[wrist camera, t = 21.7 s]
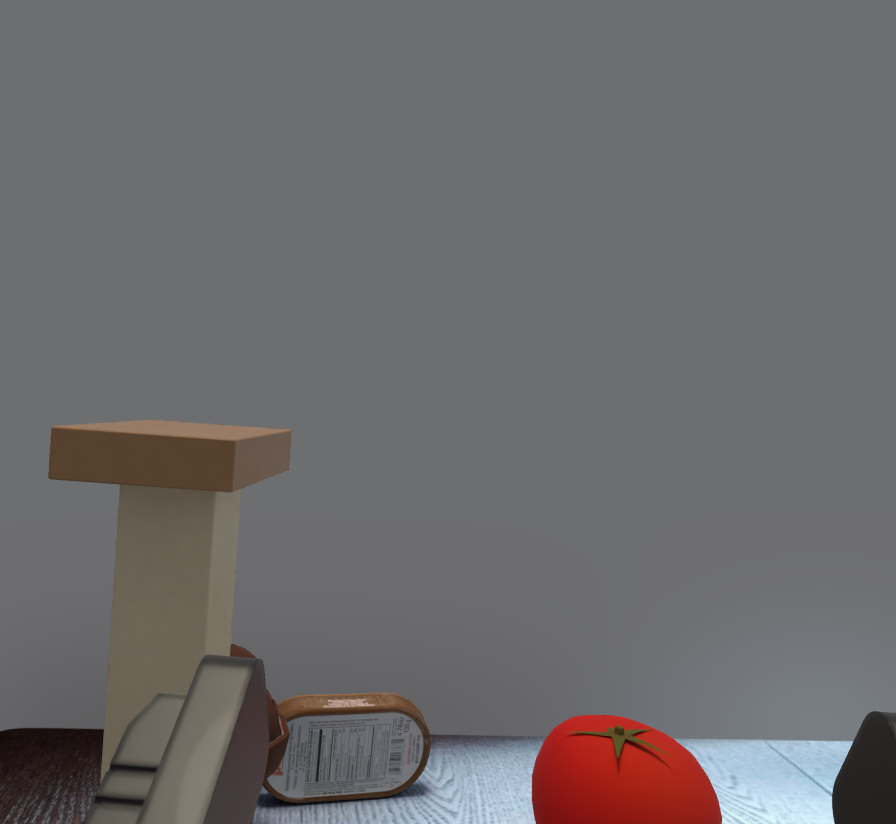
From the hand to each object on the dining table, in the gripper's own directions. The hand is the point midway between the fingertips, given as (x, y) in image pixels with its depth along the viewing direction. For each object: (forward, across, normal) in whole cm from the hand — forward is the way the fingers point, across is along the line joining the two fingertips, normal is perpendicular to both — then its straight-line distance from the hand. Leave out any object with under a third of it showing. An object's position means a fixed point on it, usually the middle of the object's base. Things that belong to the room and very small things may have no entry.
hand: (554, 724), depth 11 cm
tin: (+35, +9, +55) cm, 66 cm away
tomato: (+28, -12, +51) cm, 59 cm away
